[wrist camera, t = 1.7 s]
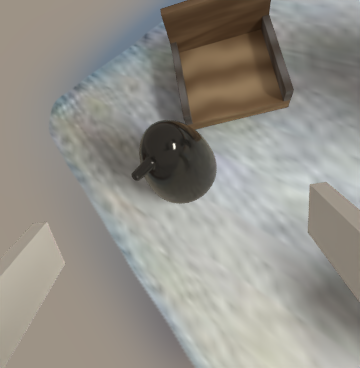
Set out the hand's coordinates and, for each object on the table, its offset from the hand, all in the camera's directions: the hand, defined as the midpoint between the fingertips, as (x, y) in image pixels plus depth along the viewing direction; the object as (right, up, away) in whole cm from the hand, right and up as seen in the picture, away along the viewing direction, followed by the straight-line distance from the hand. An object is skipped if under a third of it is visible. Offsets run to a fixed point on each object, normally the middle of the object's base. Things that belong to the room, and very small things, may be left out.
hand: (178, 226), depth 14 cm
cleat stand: (+8, +19, +32) cm, 38 cm away
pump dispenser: (+1, +3, +29) cm, 29 cm away
